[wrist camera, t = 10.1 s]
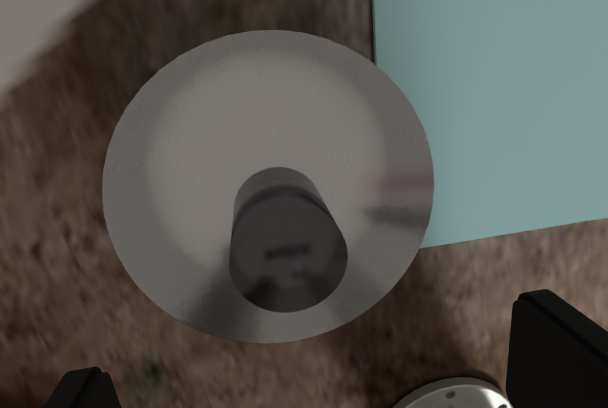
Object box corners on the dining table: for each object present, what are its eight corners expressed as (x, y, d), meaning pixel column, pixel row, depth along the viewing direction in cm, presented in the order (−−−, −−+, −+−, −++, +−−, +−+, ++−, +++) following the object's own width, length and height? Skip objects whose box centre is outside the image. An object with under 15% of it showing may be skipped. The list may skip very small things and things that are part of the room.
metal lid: (426, 306, 21) (486, 387, 16) (155, 356, 20) (122, 463, 15) (427, 12, 16) (518, -14, 11) (59, 53, 15) (-49, 47, 9)
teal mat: (612, 213, 29) (617, 215, 28) (381, 251, 27) (383, 254, 26) (669, -71, 22) (676, -73, 22) (370, -44, 20) (372, -46, 20)
